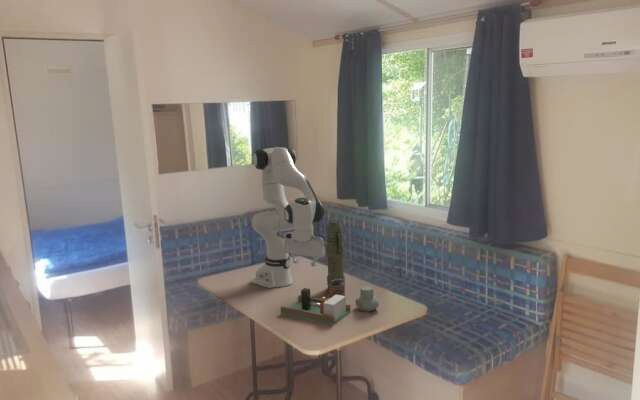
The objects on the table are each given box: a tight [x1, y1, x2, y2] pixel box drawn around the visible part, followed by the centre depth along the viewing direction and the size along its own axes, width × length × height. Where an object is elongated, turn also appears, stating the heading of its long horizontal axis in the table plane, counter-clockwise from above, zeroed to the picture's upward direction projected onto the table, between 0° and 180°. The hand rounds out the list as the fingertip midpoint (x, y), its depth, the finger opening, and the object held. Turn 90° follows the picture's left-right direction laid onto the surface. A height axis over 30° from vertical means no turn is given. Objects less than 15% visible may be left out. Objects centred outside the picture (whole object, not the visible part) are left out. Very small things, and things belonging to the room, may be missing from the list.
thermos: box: [325, 220, 346, 292], centre depth 257 cm, size 9×12×35 cm
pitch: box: [280, 294, 351, 326], centre depth 230 cm, size 27×16×8 cm, turn 60°
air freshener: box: [355, 285, 380, 312], centre depth 233 cm, size 11×8×10 cm
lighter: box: [328, 279, 346, 300], centre depth 246 cm, size 8×3×10 cm, turn 105°
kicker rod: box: [300, 287, 327, 314], centre depth 230 cm, size 12×5×9 cm, turn 60°
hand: (304, 264), depth 231 cm, fingers open, 8 cm apart
